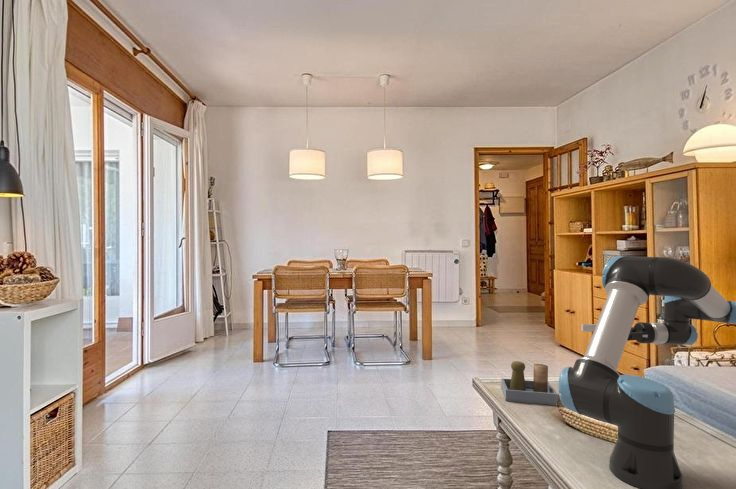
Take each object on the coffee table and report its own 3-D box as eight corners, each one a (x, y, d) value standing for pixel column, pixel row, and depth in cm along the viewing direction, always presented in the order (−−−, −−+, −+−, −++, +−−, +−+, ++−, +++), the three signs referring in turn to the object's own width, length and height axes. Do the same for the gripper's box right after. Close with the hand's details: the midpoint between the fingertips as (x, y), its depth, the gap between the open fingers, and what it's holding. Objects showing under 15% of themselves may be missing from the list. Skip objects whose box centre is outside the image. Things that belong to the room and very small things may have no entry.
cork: (507, 390, 164) (508, 362, 164) (512, 386, 169) (512, 359, 169) (523, 393, 161) (523, 364, 161) (527, 389, 166) (528, 361, 166)
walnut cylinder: (549, 397, 157) (549, 368, 157) (535, 396, 158) (535, 367, 158) (545, 392, 162) (546, 364, 162) (531, 391, 163) (532, 363, 163)
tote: (557, 405, 152) (557, 394, 152) (505, 400, 155) (505, 390, 155) (548, 391, 166) (548, 381, 166) (501, 388, 170) (501, 378, 170)
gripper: (673, 351, 142) (610, 348, 142) (628, 336, 167) (574, 334, 167) (674, 328, 142) (610, 326, 142) (628, 317, 167) (575, 315, 167)
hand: (591, 330), depth 155 cm, fingers open, 13 cm apart
